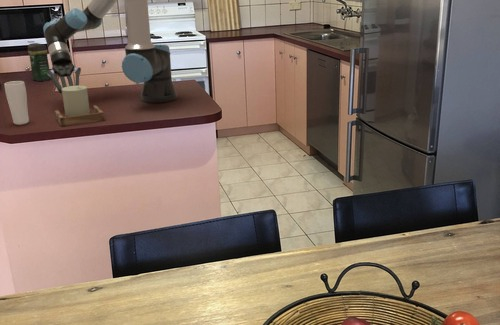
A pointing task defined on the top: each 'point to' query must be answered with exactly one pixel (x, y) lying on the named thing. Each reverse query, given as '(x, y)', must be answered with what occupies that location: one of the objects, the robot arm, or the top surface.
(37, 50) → the coffee jar
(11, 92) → the drinking glass
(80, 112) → the can
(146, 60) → the robot arm
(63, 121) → the corral
